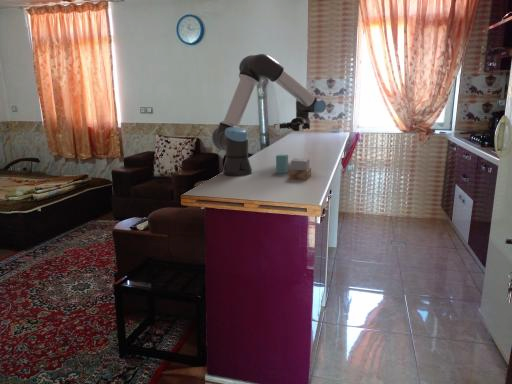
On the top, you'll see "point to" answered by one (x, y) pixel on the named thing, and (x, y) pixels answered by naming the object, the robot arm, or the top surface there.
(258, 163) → the top surface
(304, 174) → the tower base
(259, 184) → the top surface
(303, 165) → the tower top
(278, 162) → the column block
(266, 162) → the top surface
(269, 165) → the top surface
